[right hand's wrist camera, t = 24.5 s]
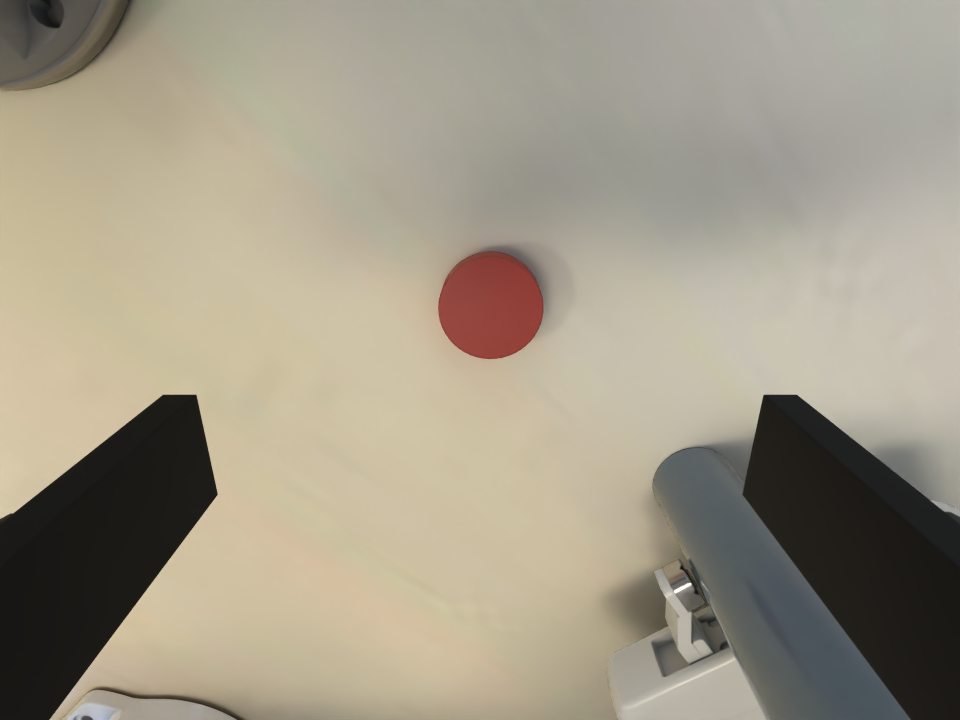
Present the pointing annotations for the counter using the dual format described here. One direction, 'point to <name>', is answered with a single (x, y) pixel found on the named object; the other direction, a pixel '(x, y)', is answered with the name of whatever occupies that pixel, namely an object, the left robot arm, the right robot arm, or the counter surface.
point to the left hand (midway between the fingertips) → (730, 542)
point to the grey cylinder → (765, 600)
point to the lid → (490, 305)
